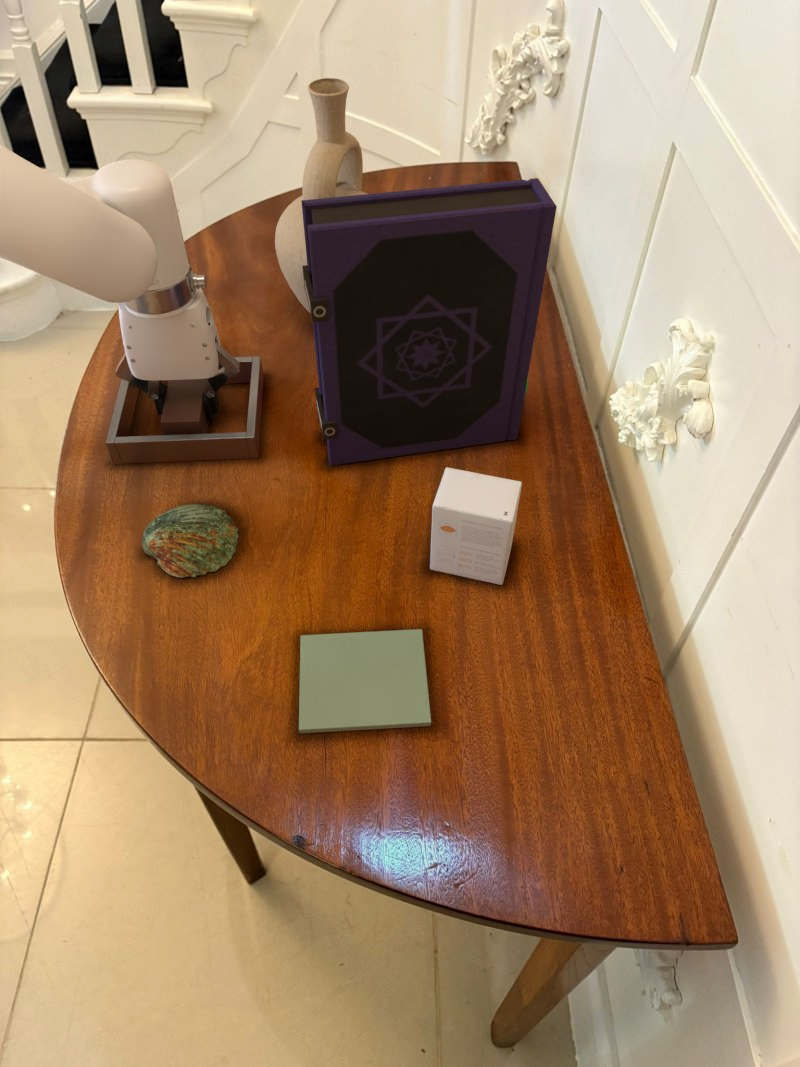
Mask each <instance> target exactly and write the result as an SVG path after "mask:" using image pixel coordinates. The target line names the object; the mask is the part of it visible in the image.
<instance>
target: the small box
mask: <svg viewBox="0 0 800 1067" xmlns="http://www.w3.org/2000/svg"><path fill="white" fill-rule="evenodd" d="M522 487H523V483H522V481H520V480H515V479H510V478H505V477H500V476H495V475H489V474H484V473H478V472H473V471H469V470H463V469H458V468H452V467H447V466H446V467H445V468H444V471H443V474H442V477H441V480H440V483H439V485H438V488H437V491H436V494H435V497H434V500H433V503H432V508H431V530H430V533H431V534H430V552H429V553H430V554H429V557H430V558H429V570H430V571H435V572H440V573H445V574H448V575H449V574H450V575H454V576H456V577H457V576H458V577H462V578H466V579H472V580H476V581H481V582H486V583H489V584H490V583H491V584H494V585H500V586H502V585H504V580H505V577H506V572H507V568H508V564H509V559H510V555H511V550H512V547H513V540H514V535H515V529H516V523H517V517H518V510H519V504H520V498H521V492H522Z"/></svg>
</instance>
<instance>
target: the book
mask: <svg viewBox="0 0 800 1067" xmlns="http://www.w3.org/2000/svg"><path fill="white" fill-rule="evenodd" d="M301 202H302V213H303V223H304V234H305V245H306V255H307V265H305V266H302V267H303V277H304V287H305V291H306V296H307V300H308V305H309V309H310V313H309V314H310V317H311V322H312V327H313V328H312V329H313V338H314V349H315V350H314V351H315V360H316V361H315V362H316V370H317V382H318V387H314V395H315V396H314V397H315V404H316V405H315V406H316V410H317V414H318V420H319V424H320V429H321V433H322V439H323V441H326V447H327V455H328V456H327V458H328V466H330V467H332V466H336V465H337V466H339V465H345V464H351V463H352V464H353V463H359V462H366V461H373V460H380V459H387V458H396V457H401V456H408V455H416V454H422V453H423V454H424V453H430V452H437V451H445V450H452V449H458V448H459V449H460V448H465V447H472V446H474V447H475V446H480V445H487V444H494V443H495V444H496V443H501V442H505V441H515V440H518V437H519V435H518V434H519V430H520V424H521V419H522V413H523V406H524V402H525V398H524V396H525V397H526V395H525V390H526V384H527V378H528V379H529V371H530V365H531V360H532V355H533V354H532V353H533V348H534V342H535V336H536V331H537V326H538V318H539V313H540V308H541V307H540V306H541V303H542V302H541V301H542V295H543V289H544V285H545V284H544V283H545V278H546V273H547V272H546V271H547V268H548V266H547V265H548V260H549V255H550V254H549V253H550V248H551V243H552V237H553V232H554V225H555V218H556V213H557V207H558V206H557V205H556V203H555V201H554V200H553V199H552V197H551V196H550V195H549V193H548V191H547V190H546V188H545V186H544V185H543V183H542V182H541V181H540V179H539V178H538V177H535V178H529V179H528V180H526V179H512V180H502V181H492V182H482V183H481V182H480V183H471V184H462V185H461V184H460V185H450V186H449V185H448V186H441V187H440V186H439V187H430V188H429V187H428V188H418V189H408V190H398V191H386V192H376V193H367V194H364V195H354V196H343V197H333V198H322V199H312V200H301Z"/></svg>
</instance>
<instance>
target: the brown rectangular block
mask: <svg viewBox="0 0 800 1067" xmlns="http://www.w3.org/2000/svg"><path fill="white" fill-rule="evenodd" d="M202 394H203V390H202V388H201V387H200V385H199V383H198V381H197V379H188V380H169V382H168V387H167V393H166V398H165V403H164V408H163V413H162V415H161V418H160V426H161V428H162V432H163V435H180V434H206V433H208V430H209V424H210V423H209V422H207V419H206V414H205V410H204V406H203V402H202Z"/></svg>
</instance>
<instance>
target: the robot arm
mask: <svg viewBox="0 0 800 1067" xmlns="http://www.w3.org/2000/svg"><path fill="white" fill-rule="evenodd" d="M178 212H179V211H178V207H177V203H176V199H175V193H174V189H173V185H172V181H171V179H170V177H169V175H168V173H167V172H166V170H164V169H163V167H161V166H160V165H158V164H157V163H155V162H152V161H149V160H146V159H139V158H127V159H122V160H116V161H113V162H109V163H107V164H106V165H104V166H102V167H100V168H99V169H98V170H97V171H96V172H95V173H94V174H93V175H88V176H84V177H81V178H77V179H73V180H69V181H64V180H63V179H61V178H60V177H57V176H55V175H54V174H52V173H50V172H48V171H47V170H44V169H43V168H41V167H39V166H37V165H36V164H34V163H32V162H31V161H29V160H27V159H25V158H24V157H22V156H20V155H18V154H17V153H15V152H13V151H12V150H10V149H8V148H7V147H5V146H4V145H2V144H1V143H0V258H1V259H4V260H6V261H8V262H11V263H12V264H16V265H18V266H21V267H22V268H24V269H27V270H29V271H32V272H35V273H36V274H39V275H41V276H44V277H46V278H48V279H51V280H52V281H56V282H57V283H60V284H63V285H65V286H68V287H69V288H72V289H74V290H77V291H80V292H81V293H85V294H87V295H89V296H92V297H94V298H96V299H99V300H100V301H104V302H107V303H111V304H118V318H119V325H120V326H119V327H120V333H121V339H122V344H123V350H124V354H123V356H122V357H121V358H120V360H119V362H118V364H117V366H116V369H115V373H114V374H115V376H116V377H118V378H120V379H121V380H122V379H124V380H126V381H128V382H132V383H133V384H134V385H135V386H136V387H138V388H139V390H141V391H143V392H145V393H146V394H147V396H148V398H149V399H151V400H153V402H154V406H155V408H156V412H157V415H158V416H162V413H163V408H164V403H165V398H166V393H167V387H168V386H166V384H165V383H164V384H163V383H162V380H188V379H197V381H198V383H199V385H200V387H201V388H202V390H203V394H202V402H203V406H204V410H205V414H206V419H207V422H209V423H208V424H213V423H214V421H215V414H219V412H220V403H219V399H218V394H217V392H218V391H219V390H220V389H221V388H222V387H223V386H224V385H226V384H225V383H226V381H227V380H228V379H231V378H232V377H234V376H235V375H237V374H238V373H239V371H240V363H239V362H238V361H237V360H236V359H235V358H234V357H235V356H233V355H231V353H229V352H228V351H227V349H225V348H224V347H223V346H222V345H221V340H220V336H219V332H218V329H217V325H216V322H215V319H214V316H213V313H212V310H211V307H210V304H209V301H208V299H207V297H206V295H205V293H204V291H203V289H206V288H207V277H206V274H199V273H195V271H194V270H193V269H192V265H191V264H189V259H188V254H187V250H186V245H185V240H184V234H183V231H182V226H181V222H180V217H179V213H178ZM219 364H220V365H222V366H223V368H218V365H219Z"/></svg>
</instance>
